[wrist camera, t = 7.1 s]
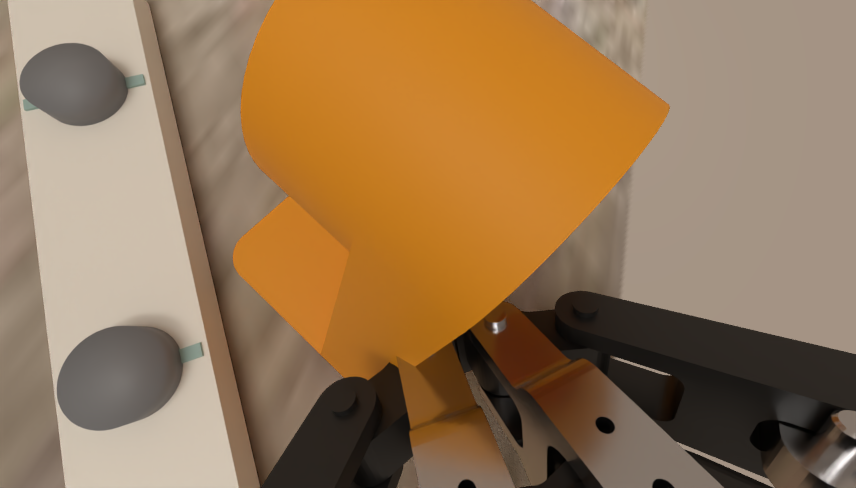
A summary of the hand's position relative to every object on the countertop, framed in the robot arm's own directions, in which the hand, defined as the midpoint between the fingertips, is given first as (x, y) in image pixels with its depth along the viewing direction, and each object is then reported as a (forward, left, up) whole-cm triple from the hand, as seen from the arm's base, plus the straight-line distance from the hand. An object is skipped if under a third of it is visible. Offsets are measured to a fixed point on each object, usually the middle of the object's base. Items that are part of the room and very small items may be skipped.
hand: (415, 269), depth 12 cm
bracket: (0, +2, -4) cm, 5 cm away
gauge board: (-10, +6, -4) cm, 13 cm away
